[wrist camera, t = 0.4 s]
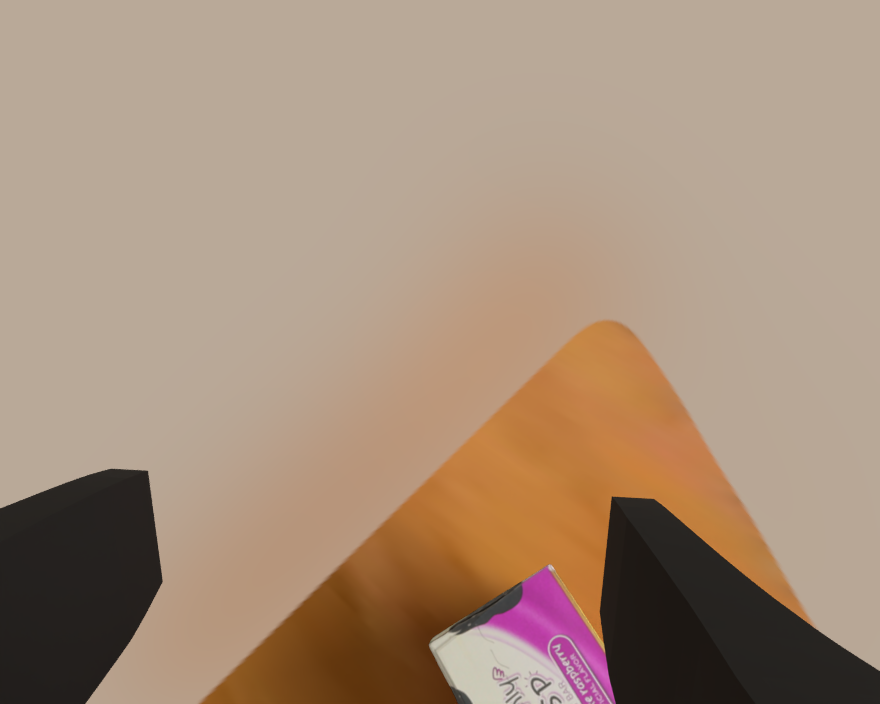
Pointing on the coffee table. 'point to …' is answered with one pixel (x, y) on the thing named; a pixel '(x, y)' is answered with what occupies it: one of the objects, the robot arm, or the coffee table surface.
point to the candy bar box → (525, 649)
